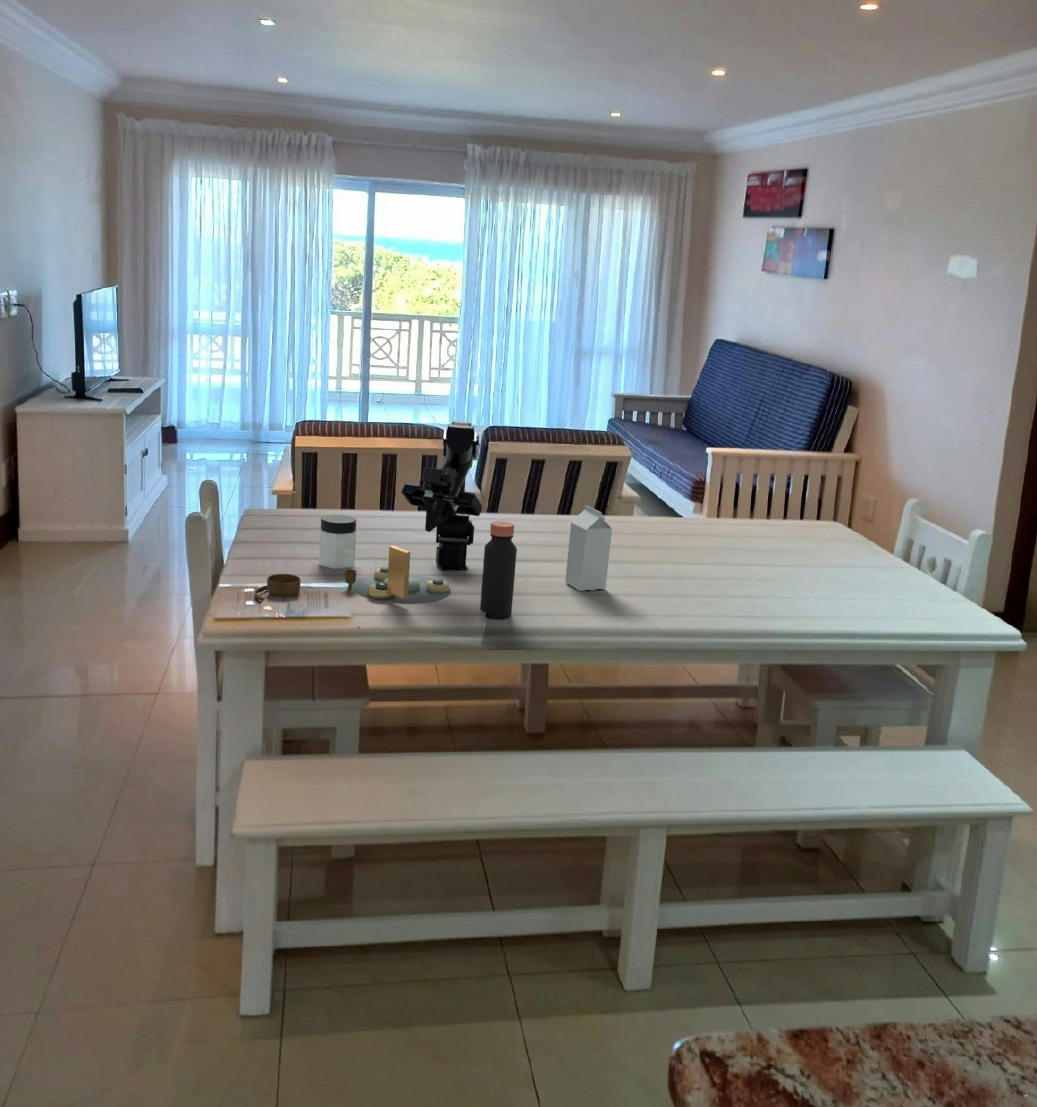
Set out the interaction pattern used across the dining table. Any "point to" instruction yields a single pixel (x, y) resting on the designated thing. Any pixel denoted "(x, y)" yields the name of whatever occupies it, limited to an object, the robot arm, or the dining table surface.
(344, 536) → the jar
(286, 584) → the place setting
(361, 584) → the plate
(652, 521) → the dining table surface
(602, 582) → the milk carton
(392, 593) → the wooden slab
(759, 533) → the dining table surface
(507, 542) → the bottle
